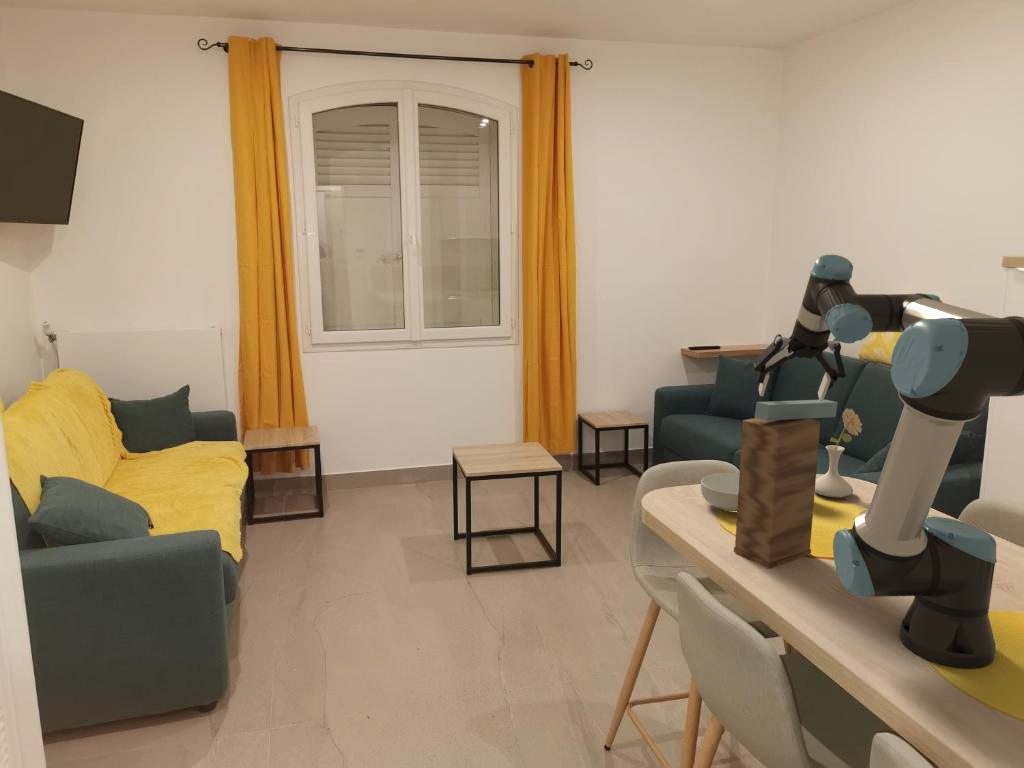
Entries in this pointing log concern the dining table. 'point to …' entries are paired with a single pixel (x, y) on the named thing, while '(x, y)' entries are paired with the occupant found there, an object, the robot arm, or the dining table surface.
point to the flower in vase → (832, 480)
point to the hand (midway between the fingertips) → (790, 394)
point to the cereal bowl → (721, 490)
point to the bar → (795, 409)
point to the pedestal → (776, 489)
